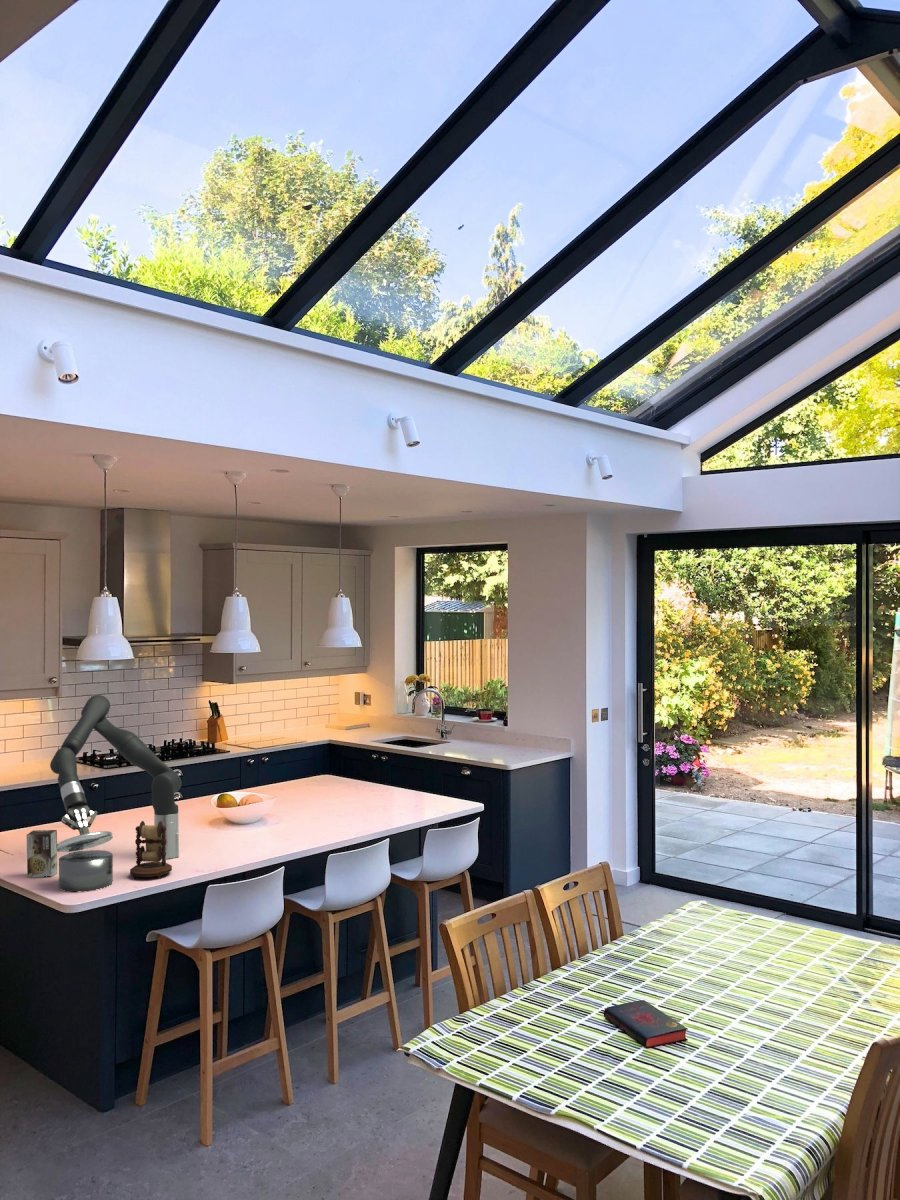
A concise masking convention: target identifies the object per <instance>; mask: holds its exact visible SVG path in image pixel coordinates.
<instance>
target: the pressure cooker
mask: <svg viewBox="0 0 900 1200" xmlns="http://www.w3.org/2000/svg"><path fill="white" fill-rule="evenodd" d="M113 855H114V854H113V852H111V851H107V850H100V849H97V850H95V849H94V850H79V851H72V852H68V853H67V854H64V855H61V856H60V857H59V858H58V889H59V888H60V889H62V890H65V891H64V892H66V891H87V892H90V891H89V890H94V891H97V890H96V889H99V890H101V889H100V888H102V889H105V888H108V887H109V885H110V886H111V885H113V883H114V882H113V881H114V875H113V874H114V872H113V871H114V863H113V862H114V861H113V860H114V856H113ZM112 882H113V883H112ZM107 886H108V887H107ZM104 887H105V888H104ZM60 889H59V890H60ZM62 890H61V891H62Z"/></svg>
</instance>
